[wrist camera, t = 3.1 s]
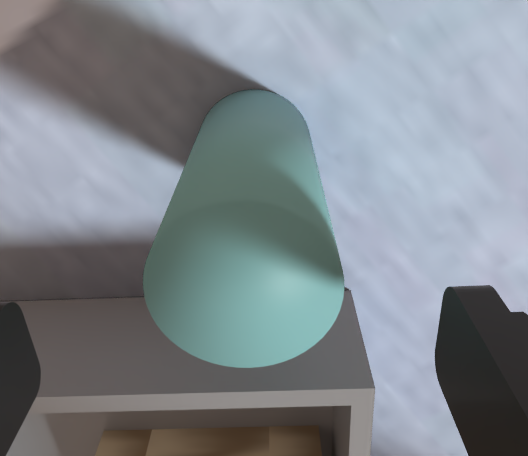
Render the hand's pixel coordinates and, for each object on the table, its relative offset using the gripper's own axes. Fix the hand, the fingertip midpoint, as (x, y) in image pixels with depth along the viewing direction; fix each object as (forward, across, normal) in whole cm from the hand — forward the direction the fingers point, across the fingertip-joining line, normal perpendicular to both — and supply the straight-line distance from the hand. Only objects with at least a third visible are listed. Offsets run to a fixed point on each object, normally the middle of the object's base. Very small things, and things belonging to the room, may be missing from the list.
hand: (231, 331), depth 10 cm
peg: (+12, 0, 0) cm, 12 cm away
